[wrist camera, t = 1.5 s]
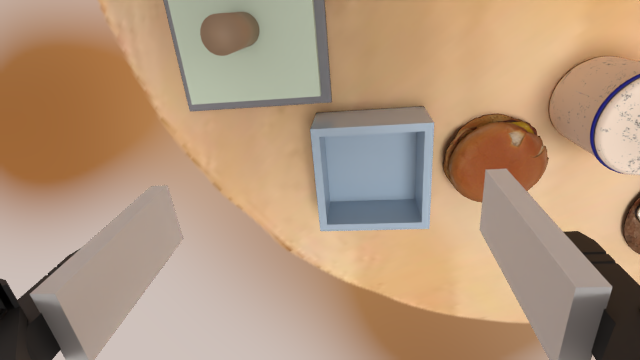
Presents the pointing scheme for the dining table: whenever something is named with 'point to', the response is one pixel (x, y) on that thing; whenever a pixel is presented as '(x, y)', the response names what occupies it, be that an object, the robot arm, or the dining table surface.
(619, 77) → the teacup with lid
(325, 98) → the mat
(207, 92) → the lid
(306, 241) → the dining table surface
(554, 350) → the robot arm
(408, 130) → the open box
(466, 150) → the burger
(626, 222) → the skull
